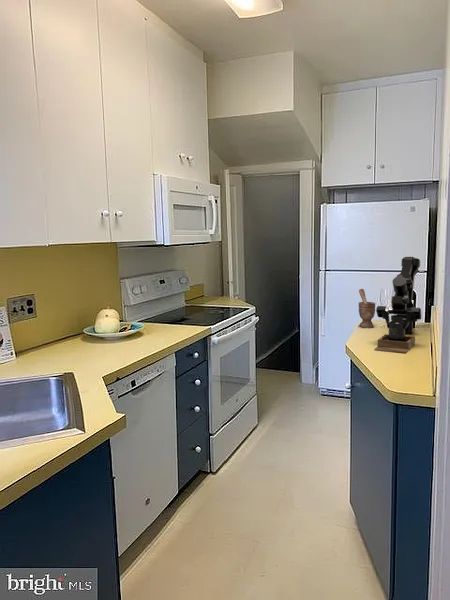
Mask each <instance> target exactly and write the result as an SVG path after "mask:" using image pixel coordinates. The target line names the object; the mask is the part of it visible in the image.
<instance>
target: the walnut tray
mask: <svg viewBox="0 0 450 600" xmlns="http://www.w3.org/2000/svg"><path fill="white" fill-rule="evenodd" d="M415 341H416V337H415V336H412V335H411V336H410V335H405V342H401V341H390V340H389V333H388V334H387V333H385V334H383V335H382V336H381V337H379V338H378V339H377V346H376V347H375V348H374V351H376V352H379V351H380V352H387V353H389V352H390V353H397V354H407V353H408V352H409V351H410V350H411V349H412V348H413V347H414V346H415V344H416V342H415Z"/></svg>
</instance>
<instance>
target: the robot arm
mask: <svg viewBox="0 0 450 600" xmlns="http://www.w3.org/2000/svg"><path fill="white" fill-rule="evenodd" d="M400 265H401V271H400V273H399V274H397V275H396V276H395V277H393V278H392V282H391V283H392V288H393V291H394V295H393V296H391V308H392V309H391V308H390V309H389V308H388V307H387V306H386V305H378V306H376V307H375V313H376V314H377V315H376V316H377V317H378V318H382V319H384V320H385V323H386V327H387V329H389V322H390V320H391V317H390V315H402V316H403V320H402V321H403V322H404V323H405V325H404V329H405V335H413V334H414V333H415V332H416V331H414V330H413V329H414V323H417V322H418V321H420V320H422V309H421V308H420V307H415V305H414V303H413V298H414V297H413V296H414V285H415V276H416V274H418V272H419V270H420V269H419V268H421V259H419V258H418V257H414V256H405V257H404V256H403V258H401V264H400Z"/></svg>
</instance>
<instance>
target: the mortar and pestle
mask: <svg viewBox="0 0 450 600" xmlns="http://www.w3.org/2000/svg"><path fill="white" fill-rule="evenodd" d="M358 293H359V295H360V298H361V300H362V301H361V302H358V313H359V317H360V318H361V319H362V320H361V322H360V324H359V327H360V328H365V329H371V328H374V327H375V325H374V323H373V322H372V319H374V316H375V314H376V302H373V301H367V298H366V293H365V289H364V288H360V289H359V290H358Z"/></svg>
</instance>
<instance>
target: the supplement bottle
mask: <svg viewBox="0 0 450 600" xmlns="http://www.w3.org/2000/svg"><path fill="white" fill-rule="evenodd" d="M402 320H403V316H402V315H395V314H391V315H390V321H389V328H388V334H389V340H390V341H401V342H405V336H406V334H405V329H404V325H405V323H404V322H403V321H402Z"/></svg>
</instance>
